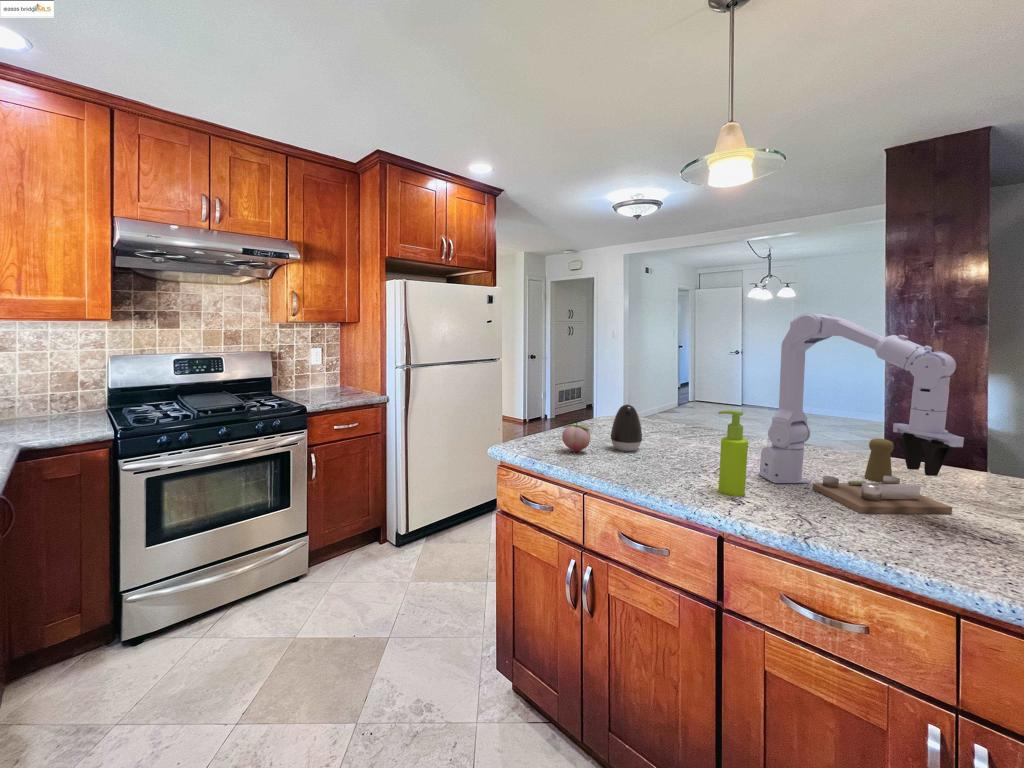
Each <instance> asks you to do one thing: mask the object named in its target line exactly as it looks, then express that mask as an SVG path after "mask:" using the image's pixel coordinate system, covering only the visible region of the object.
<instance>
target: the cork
mask: <svg viewBox="0 0 1024 768" xmlns="http://www.w3.org/2000/svg"><path fill="white" fill-rule="evenodd" d="M868 447H869V450H870V454H869V457H868V462H867V465H866V468H865V469H866V470H865V473H864V477H865V478H866V479H865V478H864V477H863V478H864V479H865V480H867V479H868V481H870V480H871V482H874V481H875V482H874V483H880V482H883V476H893V474H892V473H893V472H892V459H891V458H892V457H891V453H892V452H893V451H894V443H893V441H891V440H889V439H886V438H872V439H870V441H869V443H868Z"/></svg>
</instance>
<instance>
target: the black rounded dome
mask: <svg viewBox="0 0 1024 768" xmlns="http://www.w3.org/2000/svg"><path fill="white" fill-rule="evenodd" d="M610 439H611V442H612V445H613V447H614V448H615V449H616V450H618V451H620V452H634V451H636V450H637V449H639V448H640V446H641V443H642V441H643V431H642V425H641V421H640V417H639V414H638V412H637V410H636V408H635V407H634V406H633V405H631V404H622V405H621V406H620V407H619V408H618V411H617V412H616V414H615V416H614V419H613V422H612V427H611V431H610Z"/></svg>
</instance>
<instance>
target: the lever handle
mask: <svg viewBox="0 0 1024 768" xmlns="http://www.w3.org/2000/svg"><path fill="white" fill-rule="evenodd" d="M874 483H875V482H866V483H862V491H861V497H862V498H864V499H868V500H873V501H880V500H881V499H919V497H920V495H921V485H918V484H915V483H913V484H912V483H909V484H907V483H905V484H903V483H901V484H874Z"/></svg>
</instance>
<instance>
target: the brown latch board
mask: <svg viewBox="0 0 1024 768" xmlns="http://www.w3.org/2000/svg"><path fill="white" fill-rule="evenodd" d="M862 483H867V481H865V480H848V482H847V483H845V482H844V483H843V482H842V483H841V482H840V478H838V477H835V476H831V475H823V477H822V483H819V482H817V483H816V482H813V483H812V490H813V489H814V490H813V491H816V492H818V493H819V492H820V494H821V495H824V496H826V497H828V498H829V499H831V500H833V501H835V502H837V503H839V504H841V505H843V506H845V507H847V508H849V509H851V510H853V511H855V512H857V513H859V514H860V515H861V514H864V515H865V514H866V515H867V514H873V515H874V514H876V515H877V514H881V515H884V514H887V515H890V514H891V515H892V514H895V515H897V514H898V515H899V514H901V515H902V514H903V515H904V514H905V515H906V514H907V515H909V514H911V515H912V514H913V515H916V514H917V515H930V514H932V515H943V514H944V515H951V514H953V506H950V505H949V504H945V503H942V502H940V501H938V500H935V499H932V498H930V497H928V496H924V495H923V494H920V497H919V499H881V500H880V501H873V500H868V499H864V498H862V497H861V491H862ZM873 483H874V484H900V483H901V478H900V477H897V476H893V475H892V476H883V483H880V482H873Z"/></svg>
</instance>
